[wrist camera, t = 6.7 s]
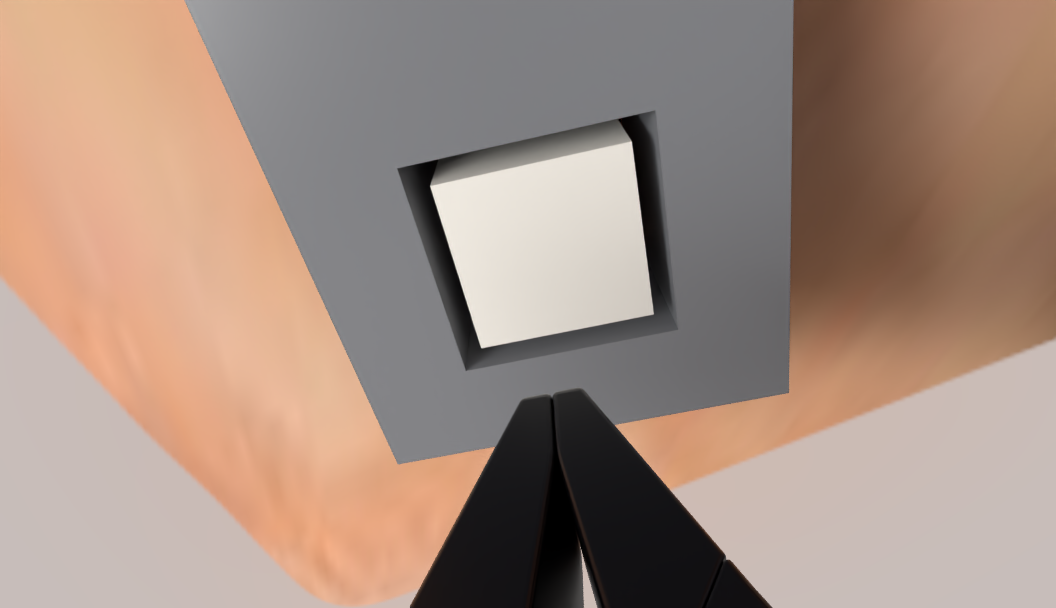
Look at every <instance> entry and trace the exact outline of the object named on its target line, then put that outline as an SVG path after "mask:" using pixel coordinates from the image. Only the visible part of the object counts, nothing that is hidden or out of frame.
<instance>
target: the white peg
mask: <svg viewBox="0 0 1056 608" xmlns="http://www.w3.org/2000/svg"><path fill="white" fill-rule="evenodd" d="M430 187H431V190H432V194H433V197H434V200H435V203H436V206H437V209H438V213H439V216H440V219H441V222H442V225H443V228H444V232H445V235H446V238H447V241H448V244H449V248H450V251H451V254H452V257H453V260H454V263H455V267H456V270H457V273H458V276H459V279H460V282H461V286H462V289H463V292H464V295H465V298H466V301H467V305H468V308H469V311H470V314H471V317H472V321H473V324H474V327H475V330H476V333H477V336H478V340H479V343H480V346H481V348H486V347H491V346H496V345H501V344H506V343H511V342H516V341H521V340H526V339H532V338H537V337H542V336H547V335H552V334H557V333H562V332H567V331H572V330H577V329H582V328H587V327H592V326H597V325H603V324H608V323H613V322H618V321H623V320H628V319H633V318H638V317H643V316H648V315H653V314H654V312H653V304H652V296H651V288H650V280H649V273H648V265H647V257H646V249H645V241H644V233H643V226H642V218H641V210H640V202H639V194H638V186H637V178H636V171H635V163H634V155H633V147H632V141H631V139H630V138H629V136H628V135H627V133H626V132H625V130H624V128H623V127H622V125H621V124H620V122H619V121H618V119H614V120H610V121H605V122H601V123H597V124H592V125H588V126H583V127H579V128H574V129H570V130H566V131H561V132H557V133H552V134H548V135H543V136H539V137H534V138H530V139H526V140H521V141H517V142H512V143H508V144H503V145H499V146H495V147H490V148H486V149H481V150H477V151H472V152H468V153H463V154H459V155H455V156H450V157H446V158H441V159H439V160H438V163H437V166H436V169H435V172H434V176H433V179H432V182H431V185H430Z"/></svg>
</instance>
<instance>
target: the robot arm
mask: <svg viewBox="0 0 1056 608" xmlns="http://www.w3.org/2000/svg"><path fill="white" fill-rule="evenodd" d="M580 546H581V548H580ZM581 550H582V554H583V557H584V561H585V565H586V569H587V572H588V576H589V580H590V583H591V587H592V590H593V594H594V597H595V601H596V604H597V608H772V607H771V606H770V605H769V603H768V602H767V601H766V600H765V599H764V598H763V597H762V596H761V595H760V594H759V593H758V591H757V590H756V589H755V588H754V587H753V586H752V585H751V583H750V582H749V581H748V580H747V579H746V578H745V576H744V575H743V574H742V573H741V572H740V571H739V570H738V569H737V567H736V566H735V565H734V564H733V562H731V561H730V560H726V556H725V554H724V553H723V551H722V550H721V549H720V548H719V547H718V546H717V544H716V543H715V542H714V541H713V540H712V539H711V537H710V536H709V535H708V534H707V533H706V532H705V530H704V529H703V528H702V527H701V526H700V525H699V523H698V522H697V521H696V520H695V519H694V518H693V516H692V515H691V514H690V513H689V512H688V511H687V509H686V508H685V507H684V506H683V505H682V504H681V502H680V501H679V500H678V499H677V498H676V497H675V495H674V494H673V493H672V492H671V491H670V490H669V488H668V487H667V486H666V485H665V484H664V483H663V481H662V480H661V479H660V478H659V477H658V476H657V474H656V473H655V472H654V471H653V470H652V469H651V467H650V466H649V465H648V464H647V463H646V462H645V460H644V459H643V458H642V457H641V456H640V455H639V453H638V452H637V451H636V450H635V449H634V448H633V446H632V445H631V444H630V443H629V442H628V441H627V439H626V438H625V437H624V436H623V435H622V434H621V432H620V431H619V430H618V429H617V428H616V427H615V425H614V424H613V423H612V422H611V421H610V420H609V418H608V417H607V416H606V415H605V414H604V413H603V411H602V410H601V409H600V408H599V407H598V406H597V404H596V403H595V402H594V401H593V400H592V399H591V397H590V396H589V395H588V394H587V393H586V392H585V390H583V389H582V388H572V389H567V390H562V391H557V392H555V393H554V394H553V397H552V396H551V395H550V394H541V395H536V396H530V397H526V398H523V399H522V400H521V401H520V402H519V404H518V406H517V408H516V410H515V412H514V414H513V415H512V417H511V419H510V421H509V423H508V425H507V427H506V428H505V430H504V432H503V434H502V436H501V438H500V440H499V441H498V443H497V445H496V447H495V449H494V451H493V453H492V455H491V456H490V458H489V460H488V462H487V464H486V466H485V468H484V469H483V471H482V473H481V475H480V477H479V479H478V481H477V482H476V484H475V486H474V488H473V490H472V492H471V494H470V496H469V497H468V499H467V501H466V503H465V505H464V507H463V509H462V510H461V512H460V514H459V516H458V518H457V520H456V522H455V523H454V525H453V527H452V529H451V531H450V533H449V535H448V536H447V538H446V540H445V542H444V544H443V546H442V548H441V550H440V551H439V553H438V555H437V557H436V559H435V561H434V563H433V564H432V566H431V568H430V570H429V572H428V574H427V576H426V577H425V579H424V581H423V583H422V585H421V587H420V589H419V591H418V592H417V594H416V596H415V598H414V600H413V602H412V604H411V605H410V608H584V600H583V572H582V557H581Z"/></svg>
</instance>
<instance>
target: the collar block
mask: <svg viewBox="0 0 1056 608" xmlns="http://www.w3.org/2000/svg"><path fill="white" fill-rule="evenodd" d="M793 1H794V0H185V3H186V5H187V7H188V9H189V11H190V13H191V16H192V18H193V20H194V22H195V24H196V26H197V29H198V31H199V33H200V35H201V37H202V39H203V42H204V44H205V46H206V48H207V50H208V53H209V55H210V57H211V59H212V61H213V63H214V66H215V68H216V70H217V72H218V74H219V76H220V79H221V81H222V83H223V85H224V87H225V89H226V92H227V94H228V96H229V98H230V100H231V103H232V105H233V107H234V109H235V111H236V113H237V116H238V118H239V120H240V122H241V124H242V126H243V129H244V131H245V133H246V135H247V137H248V139H249V142H250V144H251V146H252V148H253V150H254V153H255V155H256V157H257V159H258V161H259V163H260V166H261V168H262V170H263V172H264V174H265V176H266V179H267V181H268V183H269V185H270V187H271V189H272V192H273V194H274V196H275V198H276V200H277V203H278V205H279V207H280V209H281V211H282V213H283V216H284V218H285V220H286V222H287V224H288V226H289V229H290V231H291V233H292V235H293V237H294V239H295V242H296V244H297V246H298V248H299V250H300V253H301V255H302V257H303V259H304V261H305V263H306V266H307V268H308V270H309V272H310V274H311V276H312V279H313V281H314V283H315V285H316V287H317V289H318V292H319V294H320V296H321V298H322V300H323V303H324V305H325V307H326V309H327V311H328V313H329V316H330V318H331V320H332V322H333V324H334V326H335V329H336V331H337V333H338V335H339V337H340V339H341V342H342V344H343V346H344V348H345V350H346V353H347V355H348V357H349V359H350V361H351V363H352V366H353V368H354V370H355V372H356V374H357V376H358V379H359V381H360V383H361V385H362V387H363V389H364V392H365V394H366V396H367V398H368V400H369V403H370V405H371V407H372V409H373V411H374V413H375V416H376V418H377V420H378V422H379V424H380V426H381V429H382V431H383V433H384V435H385V437H386V439H387V442H388V444H389V446H390V448H391V450H392V452H393V455H394V457H395V459H396V461H397V463H398V464H402V463H408V462H413V461H419V460H424V459H430V458H435V457H441V456H446V455H452V454H457V453H463V452H468V451H474V450H479V449H485V448H490V447H495V446H496V445H497V443H498V441H499V440H500V438H501V436H502V434H503V432H504V430H505V428H506V427H507V425H508V423H509V421H510V419H511V417H512V415H513V414H514V412H515V410H516V408H517V406H518V404H519V402H520V401H521V400H522V399H523V398H526V397H530V396H536V395H541V394H550V395H551V396H552V397H553V394H554V393H555V392H557V391H562V390H567V389H572V388H582V389H583V390H585V392H586V393H587V394H588V395H589V396H590V397H591V399H592V400H593V401H594V402H595V403H596V404H597V406H598V407H599V408H600V409H601V410H602V411H603V413H604V414H605V415H606V416H607V417H608V418H609V420H610V421H611V422H612V423H613V424H614V425H616V424H621V423H627V422H632V421H638V420H643V419H649V418H654V417H660V416H665V415H671V414H676V413H682V412H687V411H693V410H698V409H704V408H709V407H715V406H720V405H725V404H731V403H736V402H742V401H747V400H753V399H758V398H764V397H769V396H775V395H780V394H786V393H789V338H790V254H791V170H792V86H793ZM619 118H621V119H622V126H623V128H624V130H625V132H626V133H627V135H628V136H629V138H630V139H631V141H632V147H633V155H634V163H635V171H636V178H637V186H638V194H639V202H640V210H641V218H642V226H643V233H644V241H645V249H646V257H647V265H648V273H649V280H650V288H651V296H652V304H653V312H654V314H653V315H648V316H643V317H638V318H633V319H628V320H623V321H618V322H613V323H608V324H603V325H597V326H592V327H587V328H582V329H577V330H572V331H567V332H562V333H557V334H552V335H547V336H542V337H537V338H532V339H526V340H521V341H516V342H511V343H506V344H501V345H496V346H491V347H486V348H481V346H480V343H479V340H478V336H477V333H476V330H475V327H474V324H473V321H472V317H471V314H470V311H469V308H468V305H467V301H466V298H465V295H464V292H463V289H462V286H461V282H460V279H459V276H458V273H457V270H456V267H455V263H454V260H453V257H452V254H451V251H450V248H449V244H448V241H447V238H446V235H445V232H444V228H443V225H442V222H441V219H440V216H439V213H438V209H437V206H436V203H435V200H434V197H433V194H432V190H431V187H430V185H431V182H432V179H433V176H434V172H435V169H436V166H437V163H438V160H439V159H441V158H446V157H450V156H455V155H459V154H463V153H468V152H472V151H477V150H481V149H486V148H490V147H495V146H499V145H503V144H508V143H512V142H517V141H521V140H526V139H530V138H534V137H539V136H543V135H548V134H552V133H557V132H561V131H566V130H570V129H574V128H579V127H583V126H588V125H592V124H597V123H601V122H605V121H610V120H614V119H619Z"/></svg>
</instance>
